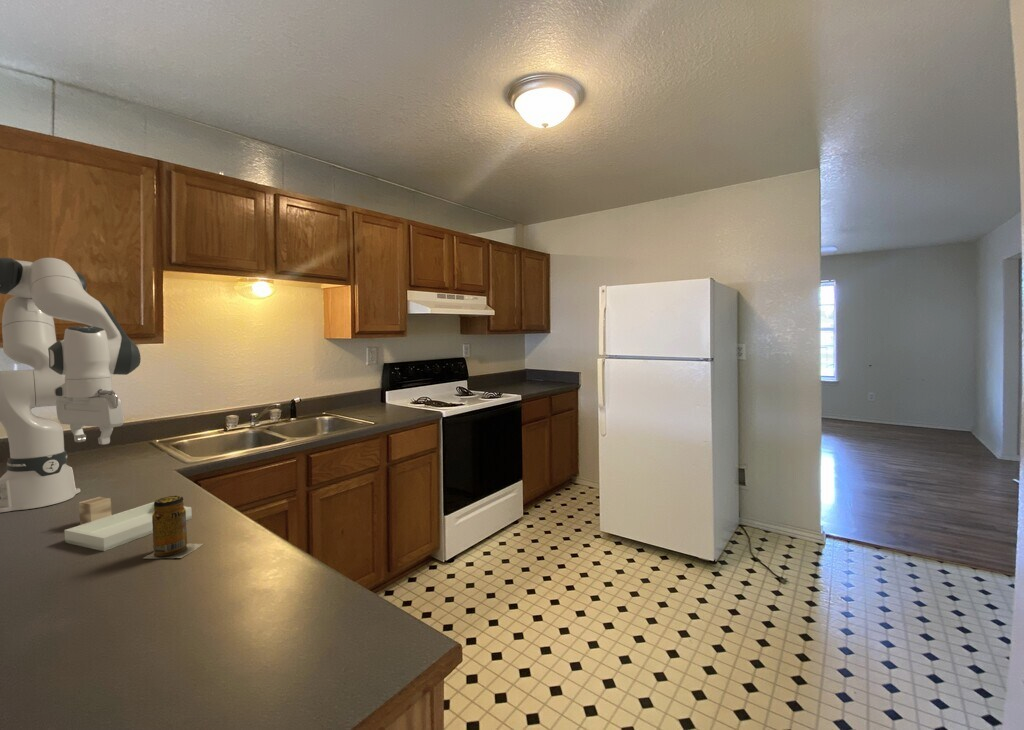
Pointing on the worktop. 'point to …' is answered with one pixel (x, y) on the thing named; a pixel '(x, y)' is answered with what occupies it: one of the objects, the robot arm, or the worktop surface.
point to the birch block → (94, 509)
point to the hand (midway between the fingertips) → (92, 442)
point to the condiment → (170, 529)
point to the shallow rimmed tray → (115, 528)
